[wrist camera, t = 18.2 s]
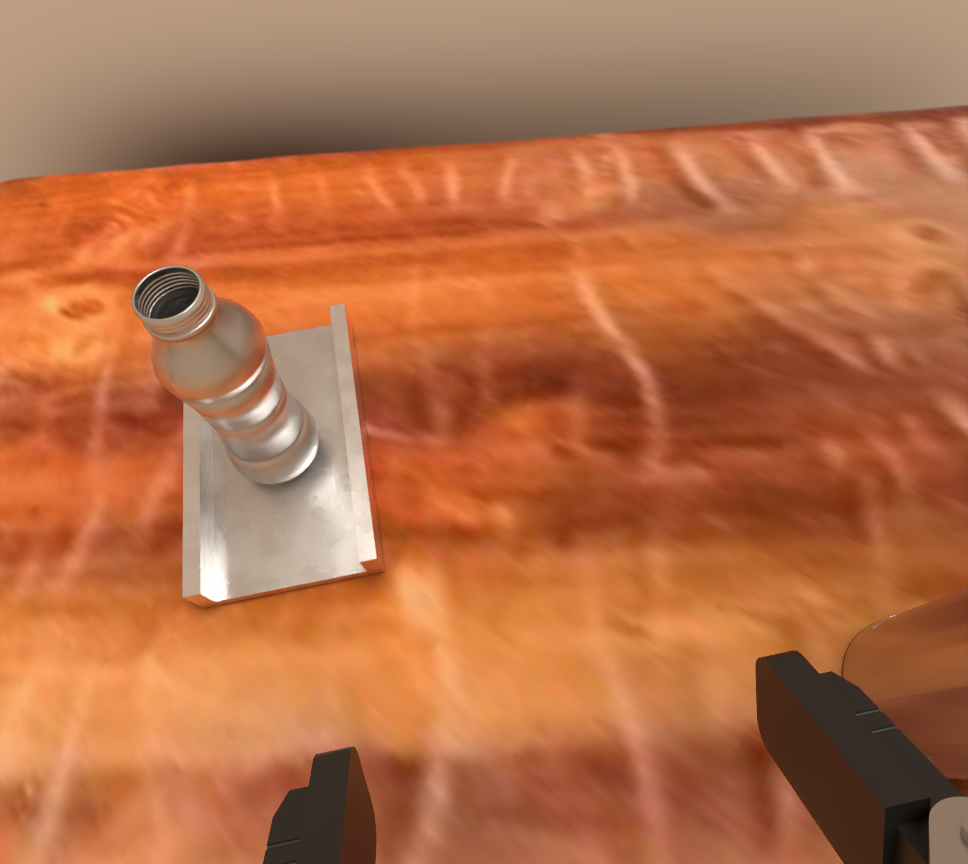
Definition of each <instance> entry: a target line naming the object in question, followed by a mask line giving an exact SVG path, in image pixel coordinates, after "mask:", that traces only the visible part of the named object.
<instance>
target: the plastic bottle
mask: <svg viewBox="0 0 968 864" xmlns="http://www.w3.org/2000/svg"><path fill="white" fill-rule="evenodd" d="M131 303H132V307H133V310H134V312H135V313H136V315H137V316H138V317H139V318H140V319H141V321H142V322H143V324H144V327H145V328H146V329H147V330H148V332H149V333H150V334H151V335H152V343H151V350H150V354H151V361H152V364H153V368H154V371H155V373H156V376H157V378H158V380H159V381H160V382H161V383H162V385H163V386H164V387H166V388H167V389H168V390H169V391H170V392H171V393H172V394H174V395H175V396H176V397H178V398H179V399H180V400H182V401H183V402H185V403H186V404H187V405H189V406H190V407H191V408H193V409H194V410H196V411H197V412H198V413H199V414H200V415H201V416H202V417H203V418H204V419H205V420H206V421H207V422H208V423H209V424H210V425H211V426H212V427H213V428H214V429H215V431H216V432H217V434H218V435H219V437H220V439H221V440H222V442H223V443H224V446H225V449H226V452H227V454H228V456H229V458H230V460H231V462H232V464H233V465H234V467H235V468H236V469H237V470H238V471H239V472H240V473H242V474H243V475H244V476H246V477H248V478H250V479H251V480H254V481H256V482H258V483H262V484H279V483H283V482H286V481H289V480H291V479H293V478H295V477H297V476H298V475H300V474H301V473H302V472H304V471H305V469H306V468H307V467H308V466H309V465H310V464H311V462H312V461H313V459H314V457H315V455H316V453H317V449H318V432H317V427H316V423H315V420H314V418H313V416H312V415H311V414H310V412H309V411H308V410H307V409H306V408H305V407H304V406H303V405H302V403H300V402H299V401H298V400H297V399H295V398H294V397H293V395H292V394H291V393H290V391H289V390H288V389H287V388H286V386H285V385H284V384H283V382H282V380H281V378H280V375H279V373H278V371H277V369H276V367H275V365H274V361H273V358H272V354H271V351H270V347H269V344H268V341H267V337H266V334H265V332H264V330H263V327H262V325H261V323H260V321H259V320H258V319H257V318H256V317H255V315H254V314H253V313H251V312H250V311H249V310H247V309H246V308H245V307H243V306H242V305H240V304H239V303H237V302H234V301H232V300H229V299H224V298H220V297H216V295H215V294H214V292H213V291H212V289H211V288H210V287H209V286H208V285H206V284H205V282H204V281H203V279H202V278H201V276H200V275H199V274H198V273H197V272H196V271H194V270H193V269H192V268H189V267H187V266H182V265H170V266H165V267H161V268H159V269H156V270H154V271H152V272H151V273H149V274H147V275H146V276H145V277H144V278H142V279H141V281H140V282H139V283H138V284H137V286H136V287H135V289H134V291H133V293H132V298H131Z"/></svg>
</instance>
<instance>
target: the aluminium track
mask: <svg viewBox="0 0 968 864" xmlns="http://www.w3.org/2000/svg"><path fill="white" fill-rule="evenodd" d="M330 312H331V321H332V325H328V326H323V327H317V328H311V329H306V330H300V331H295V332H289V333H283V334H278V335H272V336H267V341H268V344H269V347H270V351H271V354H272V358H273V361H274V365H275V367H276V369H277V371H278V373H279V375H280V378H281V380H282V382H283V384H284V385H285V386H286V388H287V389H288V390H289V391H290V393H291V394H292V395H293V397H294V398H295V399H297V400H298V401H299V402H300V403H302V405H303V406H304V407H305V408H306V409H307V410H308V411H309V412H310V414H311V415H312V416H313V418H314V420H315V423H316V427H317V432H318V449H317V453H316V455H315V457H314V459H313V461H312V462H311V464H310V465H309V466H308V467H307V468H306V469H305V471H304V472H302V473H301V474H300V475H298V476H297V477H295V478H293V479H291V480H289V481H286V482H283V483H279V484H262V483H258V482H256V481H254V480H251V479H250V478H248V477H246V476H244V475H243V474H242V473H240V472H239V471H238V470H237V469H236V468H235V467H234V465H233V464H232V462H231V460H230V458H229V456H228V454H227V452H226V449H225V446H224V443H223V442H222V440H221V439H220V437H219V435H218V434H217V432H216V431H215V429H214V428H213V427H212V426H211V425H210V424H209V423H208V422H207V421H206V420H205V419H204V418H203V417H202V416H201V415H200V414H199V413H198V412H197V411H196V410H194V409H193V408H191V407H190V406H189V405H187V404H186V403H185V402H184V421H183V598H185V599H187V600H189V601H191V602H193V603H195V604H197V605H199V606H201V607H203V608H207V607H212V606H217V605H222V604H227V603H232V602H237V601H242V600H247V599H251V598H256V597H261V596H266V595H271V594H276V593H281V592H286V591H291V590H296V589H301V588H306V587H311V586H316V585H321V584H326V583H331V582H336V581H341V580H346V579H351V578H356V577H361V576H366V575H371V574H376V573H380V572H385V567H384V559H383V552H382V544H381V537H380V529H379V521H378V514H377V506H376V499H375V491H374V484H373V476H372V468H371V461H370V453H369V446H368V438H367V431H366V423H365V416H364V408H363V400H362V393H361V385H360V378H359V370H358V363H357V355H356V348H355V340H354V332H353V327H352V324H351V321H350V319H349V316H348V313H347V310H346V307H345V305H344V304H340V305H334V306H330Z"/></svg>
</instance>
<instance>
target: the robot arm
mask: <svg viewBox="0 0 968 864" xmlns="http://www.w3.org/2000/svg"><path fill="white" fill-rule="evenodd" d="M756 696H757V721H758V726H759V730H760V734H761V737H762V739H763V742H764V744H765V746H766V748H767V750H768V752H769V753H770V755H771V756H772V758H773V759H774V761H775V762H776V764H777V765H778V767H779V768H780V770H781V771H782V773H783V774H784V776H785V777H786V779H787V780H788V782H789V783H790V785H791V786H792V787H793V789H794V790H795V792H796V793H797V795H798V796H799V798H800V799H801V801H802V802H803V804H804V805H805V807H806V808H807V810H808V811H809V813H810V814H811V815H812V817H813V818H814V820H815V821H816V823H817V824H818V826H819V827H820V829H821V830H822V832H823V833H824V835H825V836H826V838H827V839H828V841H829V842H830V844H831V845H832V846H833V848H834V849H835V851H836V852H837V854H838V855H839V857H840V858H841V860H842V861H843V863H844V864H968V797H965V796H963V795H962V794H961V793H960V792H959V791H958V790H957V789H956V788H955V787H954V786H953V785H952V783H951V782H950V781H949V780H948V779H968V588H967V589H965V590H962V591H959V592H956V593H954V594H951V595H948V596H946V597H943V598H940V599H938V600H935V601H932V602H930V603H927V604H924V605H922V606H919V607H916V608H914V609H911V610H908V611H906V612H903V613H901V614H897V615H893V616H890V617H888V618H885V619H883V620H882V621H879V622H877V623H874V624H872V625H870V626H868V627H867V628H865V629H864V630H862V631H861V632H860V633H859V634H858V635H857V636H856V637H855V638H854V640H853V641H852V642H851V644H850V646H849V648H848V650H847V652H846V655H845V659H844V664H843V678H842V677H840V676H839V675H837V674H835V673H833V672H832V671H831V672H826V673H822V674H819V673H818V672H817V671H816V670H815V669H814V668H813V666H812V665H811V664H810V663H809V662H808V661H807V660H806V659H805V658H804V656H803V655H802V654H801V653H799V652H798V651H789V652H784V653H780V654H775V655H770V656H766V657H761V658H758V659H757V661H756ZM375 861H376V824H375V816H374V810H373V806H372V802H371V798H370V795H369V791H368V788H367V784H366V781H365V777H364V773H363V770H362V766H361V763H360V759H359V756H358V753H357V750H356V748H355V747H354V746H353V747H348V748H344V749H339V750H334V751H330V752H325V753H320V754H316V755H315V757H314V759H313V764H312V770H311V776H310V782H309V786H308V787H304V788H299V789H295V790H290V791H289V792H288V794H287V795H286V797H285V799H284V800H283V802H282V803H281V805H280V807H279V808H278V810H277V811H276V813H275V815H274V816H273V820H272V824H271V829H270V833H269V838H268V843H267V850H266V852H265V857H264V861H263V864H375Z"/></svg>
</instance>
